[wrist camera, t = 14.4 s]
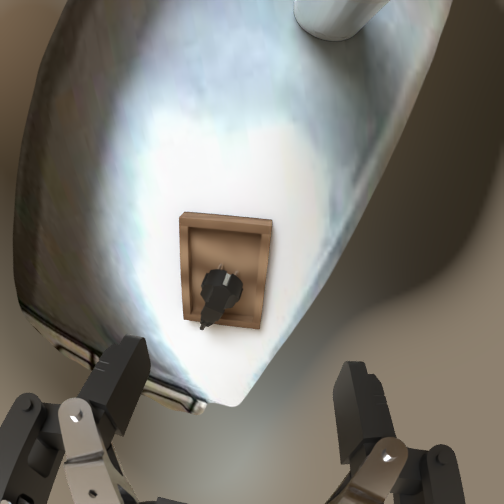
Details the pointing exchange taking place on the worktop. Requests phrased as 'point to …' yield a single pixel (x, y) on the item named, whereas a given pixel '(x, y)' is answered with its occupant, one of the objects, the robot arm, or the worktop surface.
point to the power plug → (219, 294)
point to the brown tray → (224, 262)
